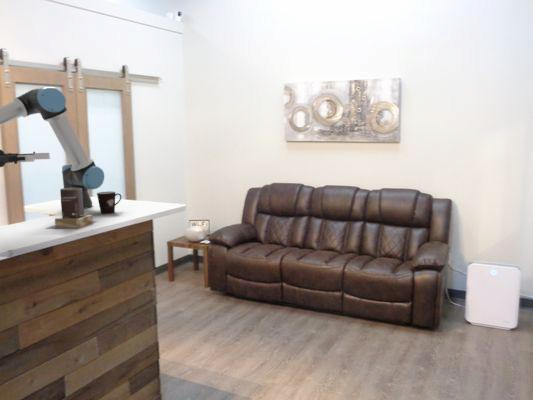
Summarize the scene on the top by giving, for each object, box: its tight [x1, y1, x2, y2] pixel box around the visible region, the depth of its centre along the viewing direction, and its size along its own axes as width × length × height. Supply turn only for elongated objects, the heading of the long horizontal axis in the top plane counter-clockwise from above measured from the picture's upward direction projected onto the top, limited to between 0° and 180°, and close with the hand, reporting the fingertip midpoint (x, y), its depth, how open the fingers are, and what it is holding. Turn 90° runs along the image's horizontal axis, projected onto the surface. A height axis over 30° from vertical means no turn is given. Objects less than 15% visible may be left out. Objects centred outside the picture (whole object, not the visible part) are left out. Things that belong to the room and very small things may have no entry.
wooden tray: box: [54, 214, 94, 229], centre depth 215 cm, size 10×12×4 cm
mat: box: [44, 220, 98, 230], centre depth 216 cm, size 16×15×1 cm
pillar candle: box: [59, 186, 85, 215], centre depth 235 cm, size 10×10×15 cm
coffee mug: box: [96, 190, 122, 215], centre depth 246 cm, size 12×9×10 cm
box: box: [60, 197, 80, 219], centre depth 214 cm, size 6×4×12 cm
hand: (41, 156), depth 212 cm, fingers open, 13 cm apart
